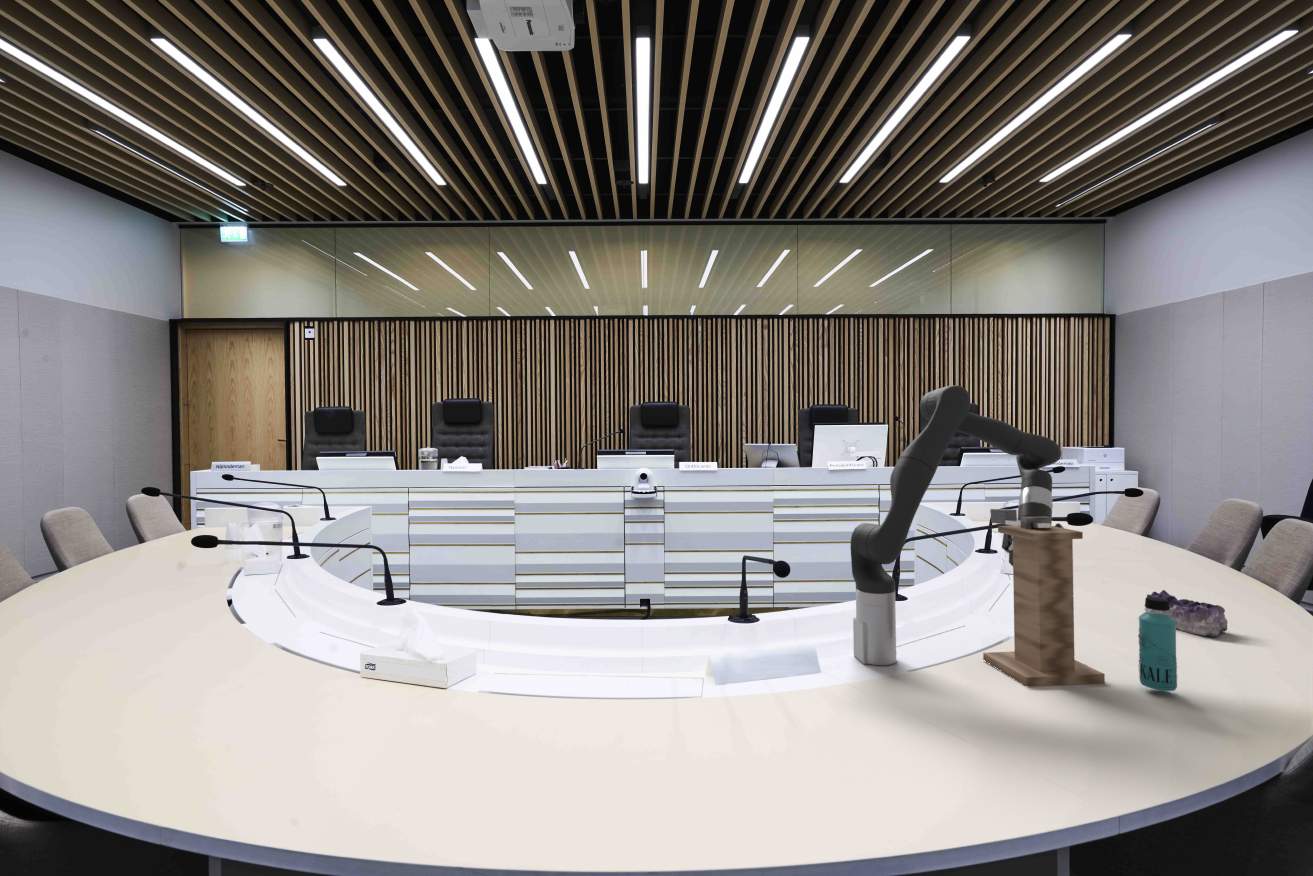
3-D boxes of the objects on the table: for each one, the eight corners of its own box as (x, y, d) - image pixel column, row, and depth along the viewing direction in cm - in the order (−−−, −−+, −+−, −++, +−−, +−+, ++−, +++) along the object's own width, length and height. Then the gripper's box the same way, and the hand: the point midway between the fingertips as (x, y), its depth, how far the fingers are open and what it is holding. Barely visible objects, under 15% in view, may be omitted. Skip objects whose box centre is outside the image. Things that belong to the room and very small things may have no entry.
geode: (1130, 621, 185) (1131, 586, 186) (1157, 622, 189) (1158, 588, 189) (1210, 638, 166) (1211, 600, 167) (1238, 639, 169) (1239, 601, 170)
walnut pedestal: (1026, 686, 138) (1023, 523, 138) (983, 660, 153) (980, 514, 154) (1104, 683, 139) (1102, 521, 139) (1053, 658, 155) (1051, 512, 155)
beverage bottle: (1163, 686, 136) (1162, 594, 136) (1186, 699, 130) (1184, 602, 130) (1131, 686, 137) (1130, 593, 137) (1152, 698, 130) (1150, 601, 130)
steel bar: (1038, 527, 144) (1037, 512, 144) (991, 522, 162) (990, 509, 162) (1050, 527, 144) (1049, 512, 145) (1002, 522, 162) (1001, 508, 162)
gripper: (999, 504, 168) (994, 560, 161) (1057, 497, 157) (1055, 557, 149) (1014, 517, 171) (1010, 573, 164) (1072, 511, 160) (1070, 570, 152)
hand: (1031, 565), depth 156 cm, fingers open, 8 cm apart
